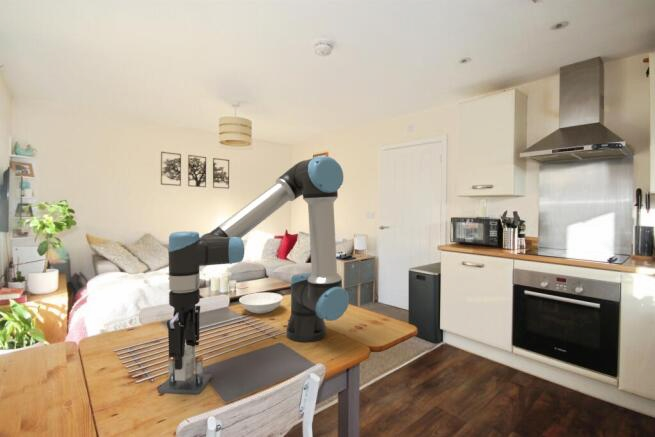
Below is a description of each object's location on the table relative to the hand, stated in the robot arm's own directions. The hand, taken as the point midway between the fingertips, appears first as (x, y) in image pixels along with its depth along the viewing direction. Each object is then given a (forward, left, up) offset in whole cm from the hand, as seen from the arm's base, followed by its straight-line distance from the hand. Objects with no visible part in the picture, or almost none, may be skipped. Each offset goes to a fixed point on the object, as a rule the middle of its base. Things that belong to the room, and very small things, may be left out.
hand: (185, 374), depth 88 cm
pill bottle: (0, 0, -1) cm, 1 cm away
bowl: (-4, -61, -3) cm, 61 cm away
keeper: (0, 0, -3) cm, 3 cm away
